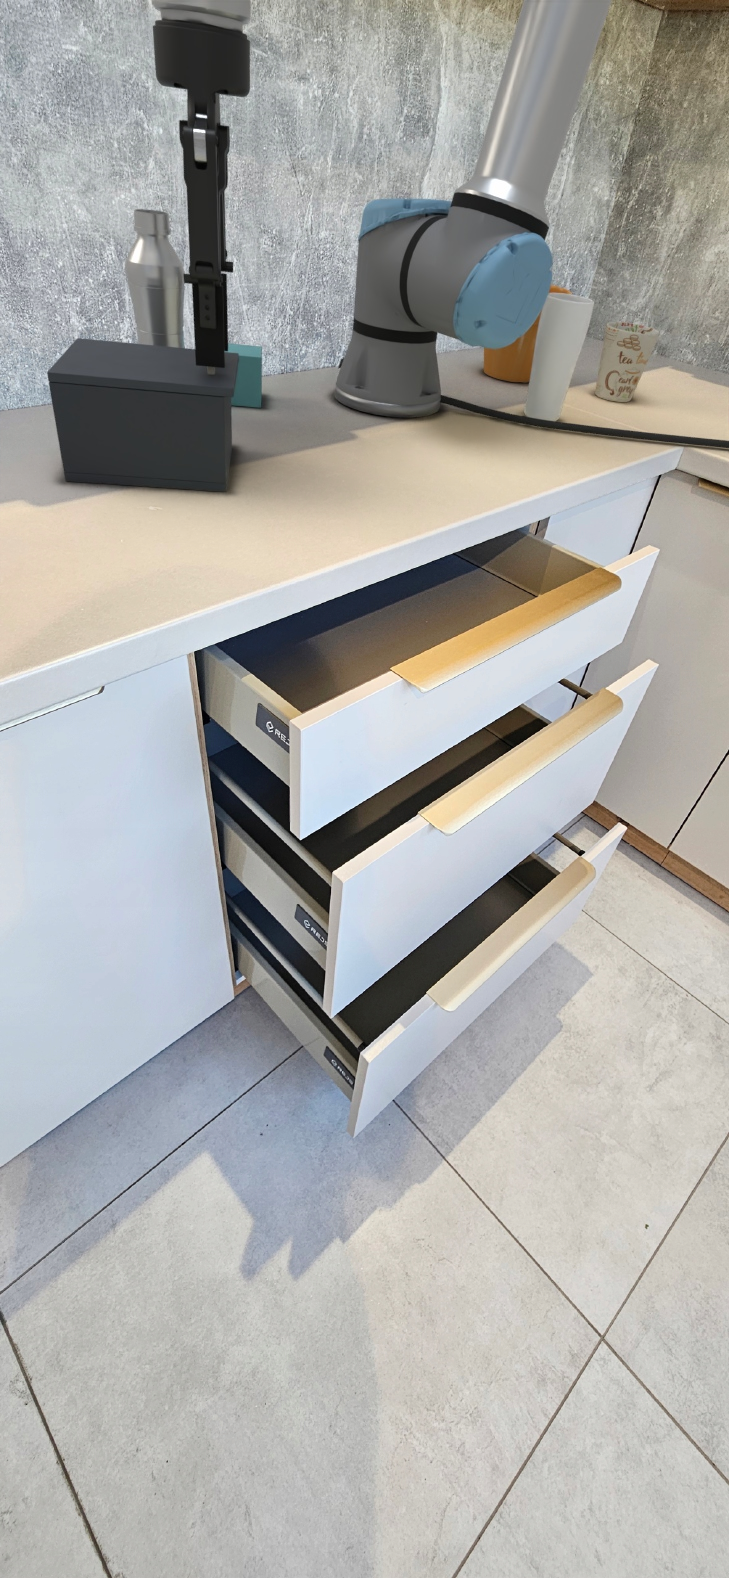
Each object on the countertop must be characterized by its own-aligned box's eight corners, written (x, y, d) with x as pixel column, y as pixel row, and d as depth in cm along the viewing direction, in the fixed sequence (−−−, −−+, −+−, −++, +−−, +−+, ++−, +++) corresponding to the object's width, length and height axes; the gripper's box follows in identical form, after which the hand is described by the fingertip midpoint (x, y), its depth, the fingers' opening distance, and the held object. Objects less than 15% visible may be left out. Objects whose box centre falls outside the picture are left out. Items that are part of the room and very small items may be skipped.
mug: (584, 397, 120) (603, 326, 113) (595, 382, 129) (613, 316, 122) (634, 407, 118) (657, 336, 112) (642, 391, 127) (664, 325, 121)
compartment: (232, 447, 85) (230, 361, 79) (226, 492, 75) (223, 397, 69) (90, 436, 83) (78, 347, 77) (65, 481, 73) (48, 382, 67)
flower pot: (551, 374, 130) (572, 287, 122) (548, 392, 120) (571, 299, 111) (473, 360, 132) (489, 273, 123) (463, 378, 121) (480, 284, 113)
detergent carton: (261, 395, 102) (262, 346, 98) (261, 408, 98) (261, 357, 94) (217, 391, 101) (216, 342, 97) (215, 404, 97) (213, 352, 93)
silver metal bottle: (182, 423, 89) (169, 218, 76) (129, 414, 90) (108, 209, 77) (201, 410, 94) (192, 214, 81) (151, 401, 95) (134, 205, 81)
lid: (238, 361, 79) (238, 293, 75) (233, 397, 69) (232, 321, 65) (78, 346, 77) (68, 275, 73) (48, 381, 67) (34, 301, 63)
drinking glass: (514, 418, 106) (541, 296, 96) (522, 407, 111) (549, 290, 101) (559, 428, 105) (592, 305, 95) (566, 417, 110) (598, 299, 100)
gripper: (165, 26, 64) (183, 332, 79) (134, 1, 50) (163, 379, 65) (252, 39, 65) (252, 339, 80) (246, 19, 51) (248, 386, 66)
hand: (212, 356), depth 73 cm, fingers closed on lid, 6 cm apart
